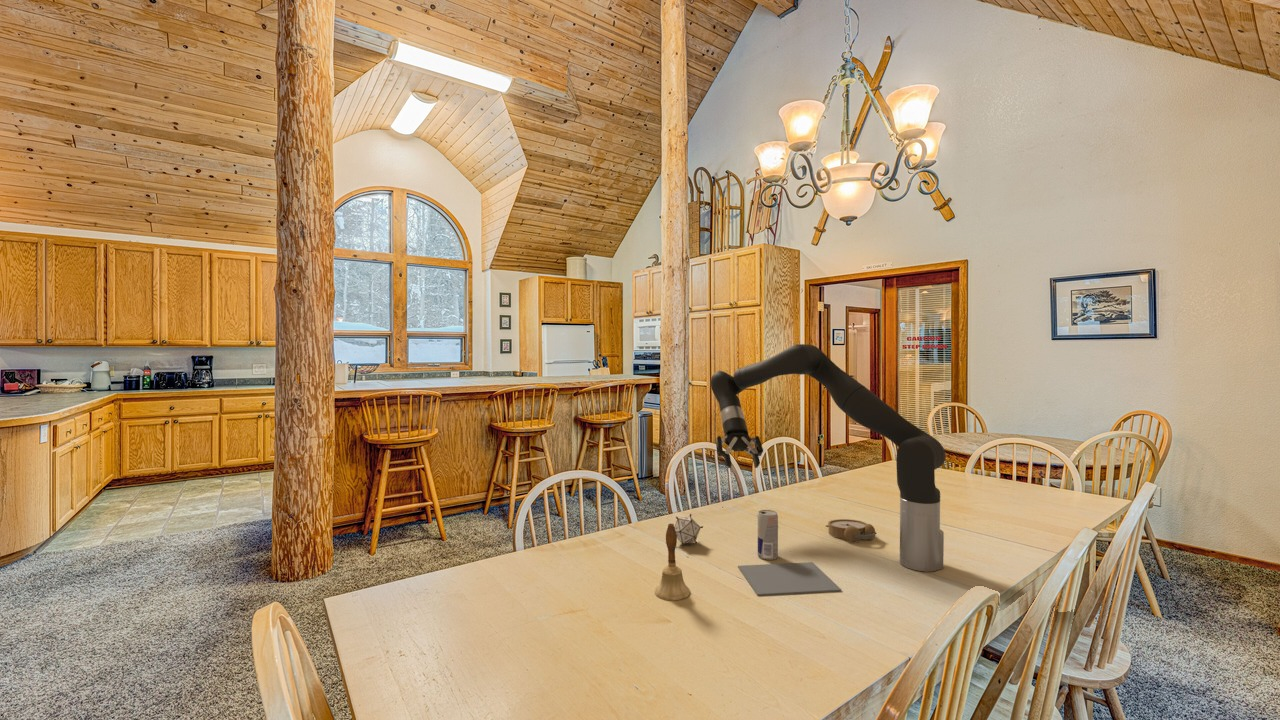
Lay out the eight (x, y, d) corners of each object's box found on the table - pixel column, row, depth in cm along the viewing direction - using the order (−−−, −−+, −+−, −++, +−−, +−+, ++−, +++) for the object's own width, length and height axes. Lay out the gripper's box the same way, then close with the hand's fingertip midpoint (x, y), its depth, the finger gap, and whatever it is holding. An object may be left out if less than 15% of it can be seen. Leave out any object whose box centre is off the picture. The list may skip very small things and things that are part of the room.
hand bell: (660, 602, 121) (660, 531, 120) (650, 587, 129) (649, 520, 128) (695, 598, 123) (695, 528, 122) (683, 582, 131) (682, 517, 130)
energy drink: (763, 551, 150) (763, 508, 150) (781, 555, 147) (781, 512, 147) (754, 557, 146) (754, 513, 146) (772, 562, 143) (772, 516, 142)
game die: (692, 558, 155) (704, 537, 150) (664, 547, 155) (676, 526, 150) (696, 533, 163) (708, 512, 157) (669, 523, 163) (680, 502, 157)
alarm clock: (849, 517, 171) (884, 523, 157) (851, 533, 170) (887, 541, 156) (819, 521, 167) (853, 528, 153) (821, 538, 166) (855, 546, 152)
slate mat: (812, 563, 142) (812, 562, 142) (841, 591, 126) (841, 589, 126) (737, 567, 140) (737, 565, 140) (757, 595, 124) (757, 594, 124)
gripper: (714, 416, 173) (723, 460, 163) (757, 416, 175) (769, 460, 164) (710, 429, 179) (718, 473, 168) (752, 429, 181) (762, 472, 170)
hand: (743, 466), depth 166 cm, fingers open, 8 cm apart
